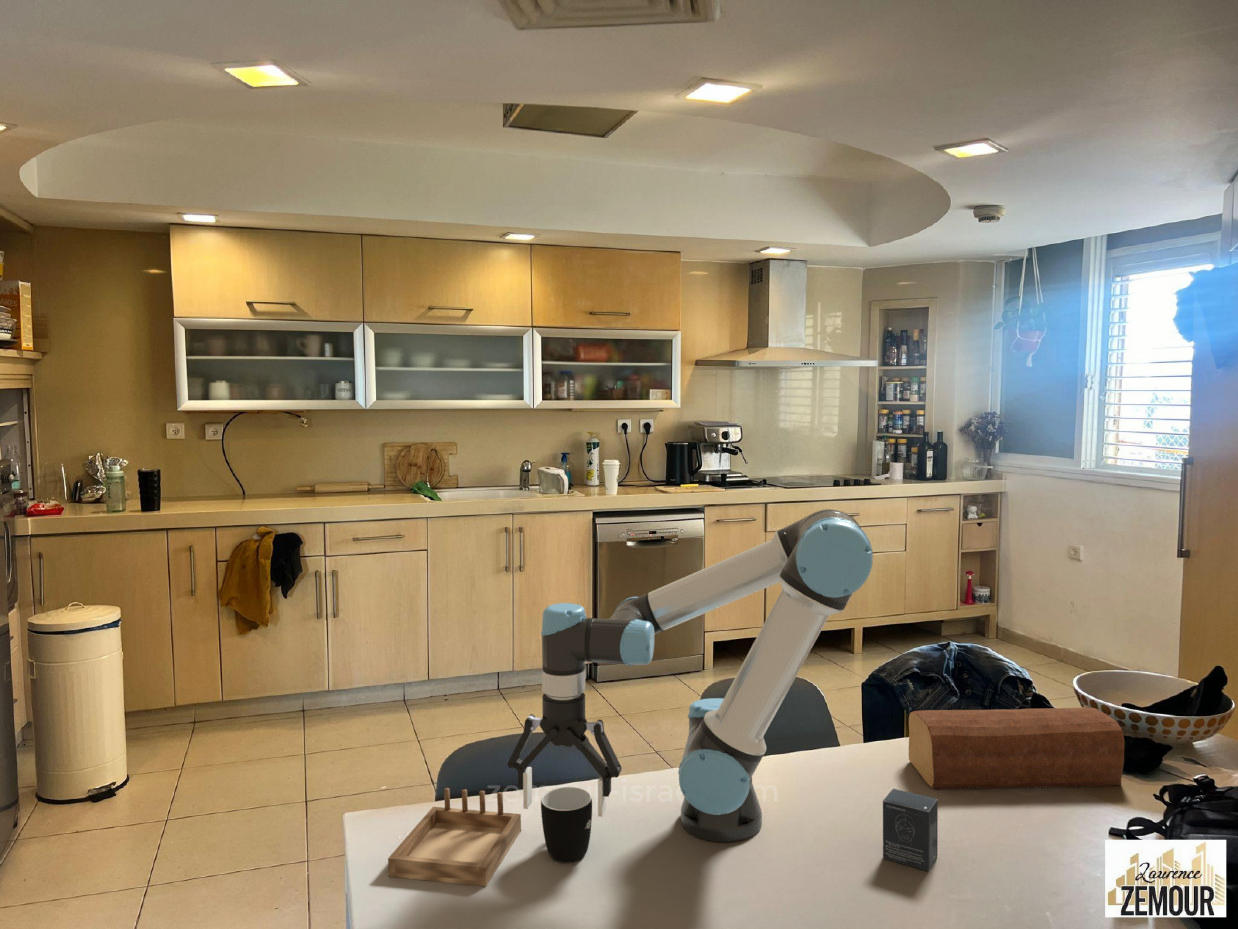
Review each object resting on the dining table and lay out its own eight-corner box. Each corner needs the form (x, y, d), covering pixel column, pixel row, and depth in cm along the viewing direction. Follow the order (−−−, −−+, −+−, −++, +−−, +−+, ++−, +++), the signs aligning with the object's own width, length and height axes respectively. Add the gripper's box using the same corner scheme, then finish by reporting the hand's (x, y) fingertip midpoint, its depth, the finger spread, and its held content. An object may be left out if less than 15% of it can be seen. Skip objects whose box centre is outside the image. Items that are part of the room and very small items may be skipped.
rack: (521, 830, 160) (519, 793, 159) (486, 886, 142) (484, 844, 142) (433, 823, 164) (432, 786, 163) (388, 876, 146) (386, 835, 145)
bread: (1126, 789, 172) (1128, 724, 171) (931, 793, 172) (932, 728, 171) (1084, 757, 187) (1086, 696, 186) (906, 760, 188) (906, 700, 186)
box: (937, 857, 148) (938, 798, 147) (928, 872, 144) (929, 811, 143) (892, 844, 153) (892, 786, 152) (881, 858, 148) (882, 799, 147)
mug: (593, 866, 148) (592, 809, 147) (540, 868, 147) (539, 811, 146) (593, 831, 159) (591, 778, 159) (544, 832, 159) (543, 779, 158)
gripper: (637, 690, 152) (637, 806, 154) (503, 680, 157) (504, 792, 159) (629, 705, 145) (629, 826, 147) (488, 695, 150) (490, 812, 152)
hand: (564, 809), depth 153 cm, fingers open, 13 cm apart
